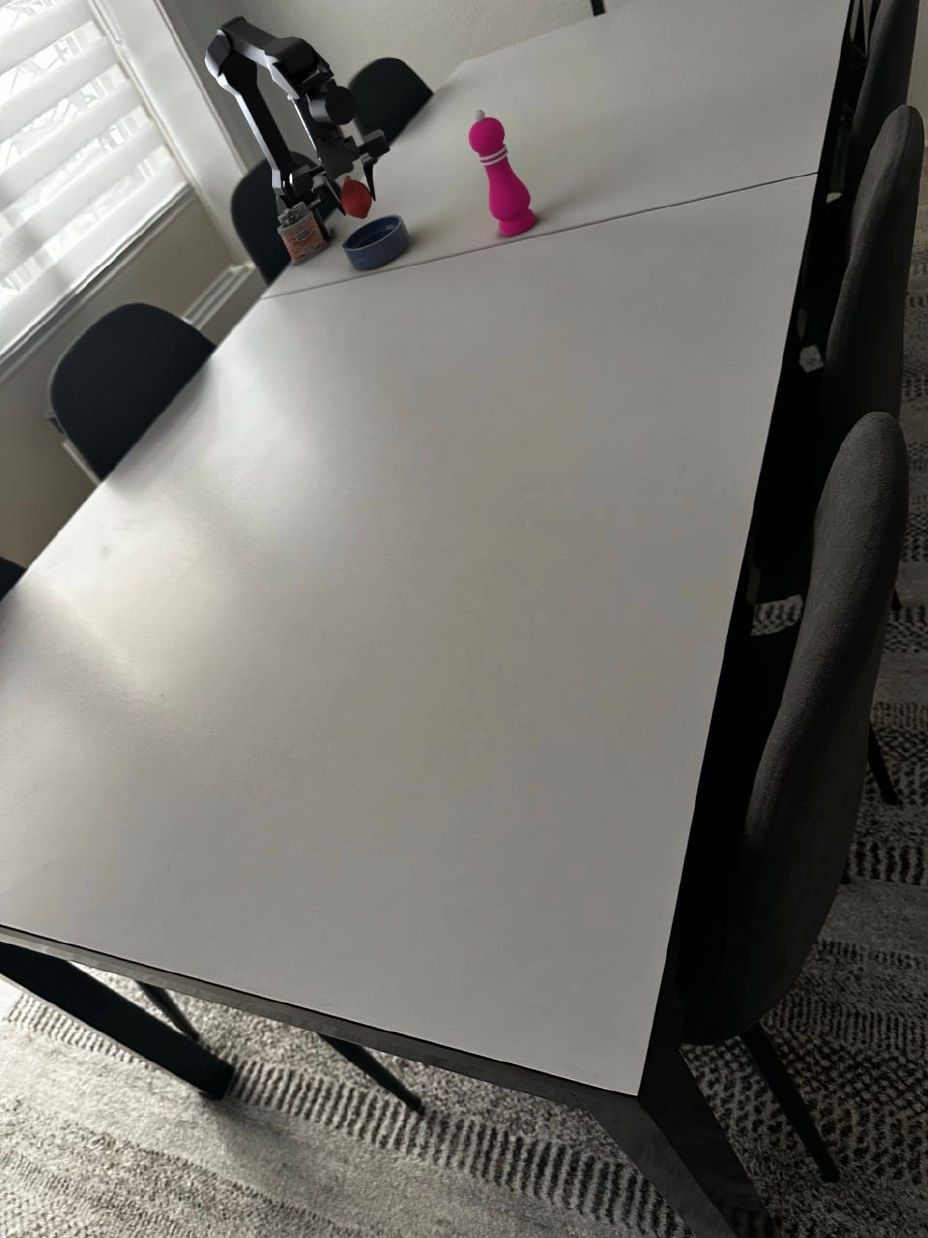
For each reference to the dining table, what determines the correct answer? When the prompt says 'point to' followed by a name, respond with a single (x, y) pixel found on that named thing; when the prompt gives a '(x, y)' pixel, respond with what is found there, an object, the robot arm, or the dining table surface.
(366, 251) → the bowl
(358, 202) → the onion
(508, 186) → the pepper mill
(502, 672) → the dining table surface
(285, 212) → the lighter
